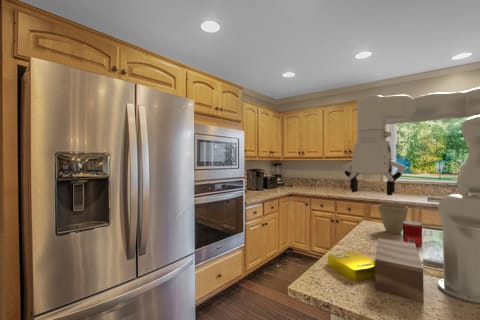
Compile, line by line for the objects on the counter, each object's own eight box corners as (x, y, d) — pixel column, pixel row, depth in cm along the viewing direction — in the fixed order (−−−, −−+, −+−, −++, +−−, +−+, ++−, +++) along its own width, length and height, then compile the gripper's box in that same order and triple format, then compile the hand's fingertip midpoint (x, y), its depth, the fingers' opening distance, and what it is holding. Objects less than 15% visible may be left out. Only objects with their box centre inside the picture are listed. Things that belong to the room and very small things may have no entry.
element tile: (352, 282, 81) (351, 269, 81) (325, 264, 96) (325, 253, 96) (385, 276, 85) (385, 263, 85) (355, 260, 100) (355, 249, 100)
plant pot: (395, 228, 144) (395, 203, 145) (415, 235, 130) (414, 207, 130) (373, 229, 143) (372, 203, 144) (390, 236, 129) (389, 208, 129)
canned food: (426, 246, 113) (425, 224, 113) (410, 246, 113) (409, 224, 113) (414, 241, 121) (414, 220, 121) (399, 241, 121) (399, 220, 121)
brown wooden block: (378, 262, 97) (378, 237, 97) (415, 269, 90) (414, 243, 90) (375, 290, 76) (375, 259, 76) (423, 302, 69) (423, 268, 69)
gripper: (408, 135, 66) (408, 195, 66) (347, 140, 78) (347, 189, 78) (402, 133, 61) (402, 197, 60) (337, 138, 73) (337, 191, 73)
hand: (371, 193), depth 69 cm, fingers open, 9 cm apart
